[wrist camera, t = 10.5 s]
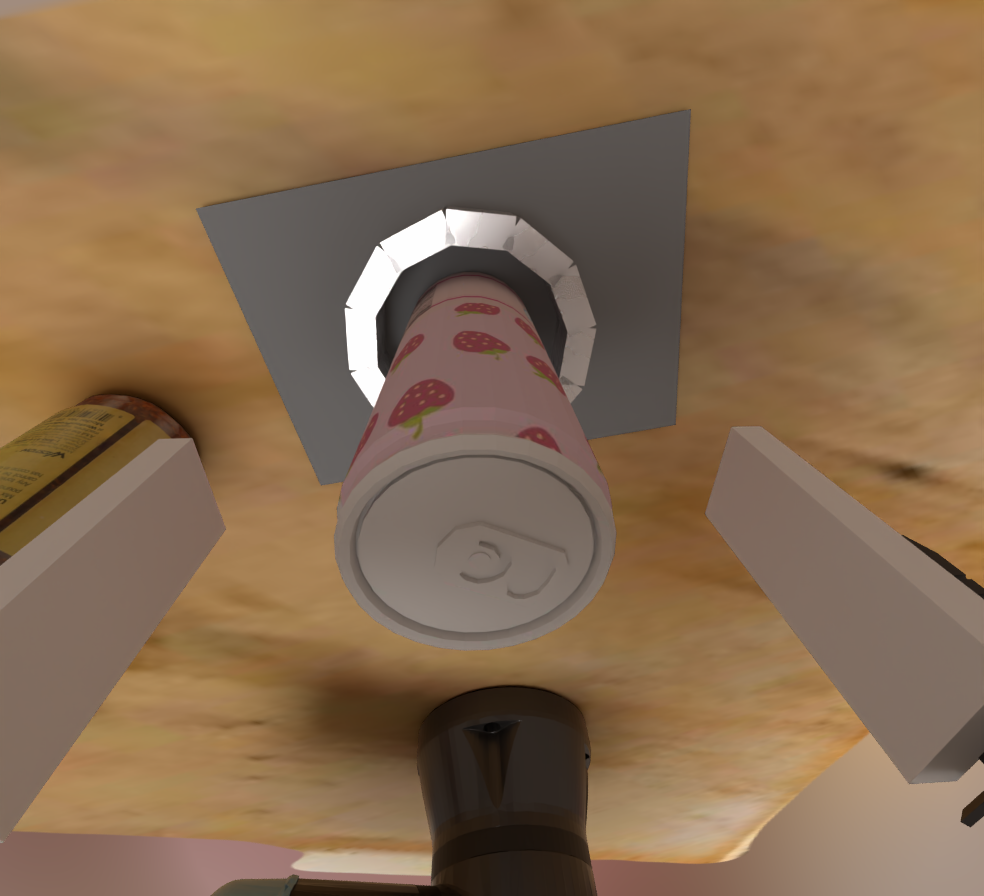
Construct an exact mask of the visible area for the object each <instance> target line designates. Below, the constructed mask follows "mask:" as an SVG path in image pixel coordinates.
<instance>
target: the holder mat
mask: <svg viewBox="0 0 984 896" xmlns="http://www.w3.org/2000/svg"><path fill="white" fill-rule="evenodd" d="M690 116H691V109H689V110H684V111H679V112H674V113H669V114H664V115H659V116H654V117H649V118H644V119H639V120H634V121H629V122H624V123H620V124H615V125H610V126H605V127H600V128H595V129H590V130H585V131H580V132H575V133H570V134H565V135H560V136H555V137H550V138H545V139H540V140H535V141H530V142H525V143H520V144H515V145H510V146H505V147H500V148H495V149H490V150H485V151H480V152H475V153H470V154H465V155H460V156H456V157H451V158H446V159H441V160H436V161H431V162H426V163H421V164H416V165H411V166H406V167H401V168H396V169H391V170H386V171H381V172H376V173H371V174H366V175H361V176H356V177H351V178H346V179H341V180H336V181H331V182H326V183H321V184H316V185H311V186H306V187H301V188H296V189H292V190H287V191H282V192H277V193H272V194H267V195H262V196H257V197H252V198H247V199H242V200H237V201H232V202H227V203H222V204H217V205H212V206H207V207H202V208H197V209H196V210H197V212H198V215H199V217H200V219H201V221H202V224H203V226H204V228H205V230H206V232H207V235H208V237H209V239H210V241H211V243H212V246H213V248H214V250H215V252H216V254H217V257H218V259H219V261H220V263H221V266H222V268H223V270H224V272H225V274H226V277H227V279H228V281H229V283H230V285H231V288H232V290H233V292H234V294H235V296H236V299H237V301H238V303H239V305H240V308H241V310H242V312H243V314H244V316H245V319H246V321H247V323H248V325H249V327H250V330H251V332H252V334H253V336H254V338H255V341H256V343H257V345H258V347H259V350H260V352H261V354H262V356H263V358H264V361H265V363H266V365H267V367H268V369H269V372H270V374H271V376H272V378H273V380H274V383H275V385H276V387H277V389H278V392H279V394H280V396H281V398H282V400H283V403H284V405H285V407H286V409H287V411H288V414H289V416H290V418H291V420H292V422H293V425H294V427H295V429H296V431H297V434H298V436H299V438H300V440H301V442H302V445H303V447H304V449H305V451H306V453H307V456H308V458H309V460H310V462H311V464H312V467H313V469H314V471H315V473H316V476H317V478H318V480H319V482H320V484H321V485H327V484H333V483H338V482H344V480H345V478H346V475H347V473H348V470H349V468H350V465H351V463H352V460H353V458H354V455H355V453H356V450H357V448H358V445H359V443H360V441H361V438H362V436H363V433H364V431H365V428H366V426H367V423H368V421H369V418H370V416H371V413H372V411H373V406H372V405H371V403H370V402H369V400H368V399H367V397H366V396H365V394H364V393H363V391H362V390H361V388H360V387H359V385H358V384H357V382H356V381H355V379H354V378H353V376H352V375H351V372H352V371H353V370H349V358H348V344H347V331H346V317H345V308H346V307H347V306H348V305H346V303H347V301H348V299H349V297H350V295H351V293H352V292H353V290H354V288H355V286H356V284H357V282H358V280H359V278H360V277H361V275H362V273H363V271H364V269H365V267H366V265H367V263H368V262H369V260H370V258H371V256H372V254H373V252H374V250H375V248H376V247H377V246H378V245H379V244H380V242H382V241H383V240H385V239H386V238H388V237H389V236H391V235H393V234H395V233H397V232H398V231H400V230H402V229H404V228H406V227H408V226H410V225H412V224H413V223H415V222H417V221H419V220H421V219H423V218H425V217H426V216H428V215H430V214H432V213H434V212H436V211H438V210H440V209H441V208H443V207H444V208H445V210H446V209H447V207H448V206H452V207H462V208H471V209H481V210H490V211H500V212H510V213H512V214H515V215H517V216H518V217H520V218H521V219H523V220H524V221H525V222H526V223H527V224H529V225H530V226H531V227H532V228H534V229H535V230H536V231H537V232H539V233H540V234H541V235H542V236H543V237H545V238H546V239H547V240H548V241H550V242H551V243H552V244H553V245H554V246H556V247H557V248H558V249H559V250H561V251H562V252H563V253H564V254H565V255H567V256H568V257H569V258H570V259H572V260H573V263H574V264H576V266H577V269H578V272H579V275H580V278H581V281H582V284H583V287H584V290H585V293H586V296H587V299H588V302H589V305H590V308H591V311H592V314H593V317H594V319H595V322H596V325H594V327H595V328H596V333H595V338H594V343H593V347H592V352H591V357H590V362H589V366H588V371H587V376H586V380H585V385H584V386H581V388H582V391H581V392H580V393H579V394H578V395H577V396H576V398H575V399H574V400H573V401H572V402H571V406H572V408H573V410H574V413H575V415H576V417H577V419H578V421H579V423H580V425H581V428H582V430H583V432H584V434H585V436H586V438H587V440H590V439H595V438H601V437H607V436H613V435H619V434H625V433H630V432H636V431H642V430H648V429H654V428H660V427H665V426H671V425H676V405H677V385H678V364H679V343H680V323H681V302H682V281H683V261H684V240H685V219H686V199H687V178H688V157H689V137H690ZM462 272H479V273H483V274H487V275H491V276H493V277H495V278H497V279H499V280H501V281H503V282H504V283H506V284H507V285H508V286H509V287H511V288H512V289H513V290H514V291H515V292H516V293H517V295H518V296H519V297H520V298H521V300H522V301H523V303H524V305H525V307H526V309H527V312H528V314H529V316H530V318H531V320H532V322H533V324H534V327H535V329H536V331H537V333H538V335H539V337H540V339H541V342H542V344H543V346H544V348H545V350H546V352H547V355H548V357H549V359H550V358H551V352H552V346H553V340H554V334H555V328H556V322H557V315H556V312H555V309H554V307H553V304H552V301H551V299H550V296H549V294H548V291H547V288H546V286H545V283H544V280H543V278H541V277H540V276H539V275H538V274H536V273H535V272H534V271H532V270H531V269H530V268H529V267H527V266H526V265H525V264H523V263H522V262H521V261H520V260H518V259H517V258H516V257H514V256H513V255H512V254H511V253H509V252H508V251H506V250H495V249H485V248H474V247H464V246H454V245H450V246H449V247H447V248H445V249H443V250H441V251H439V252H437V253H435V254H433V255H431V256H429V257H427V258H425V259H423V260H421V261H419V262H418V263H416V264H414V265H412V266H410V267H408V268H406V269H404V270H403V272H402V274H401V276H400V277H399V279H398V281H397V283H396V284H395V286H394V288H393V290H392V291H391V293H390V295H389V297H388V298H387V300H386V302H385V318H386V349H387V350H388V352H389V354H390V355H391V357H392V359H394V357H395V354H396V352H397V349H398V347H399V344H400V342H401V339H402V337H403V334H404V332H405V329H406V327H407V324H408V322H409V320H410V317H411V315H412V312H413V310H414V308H415V306H416V304H417V302H418V300H419V298H420V297H421V296H422V295H423V294H424V292H425V291H426V290H427V289H428V288H429V287H430V286H432V285H433V284H434V283H436V282H437V281H438V280H440V279H442V278H445V277H447V276H449V275H452V274H457V273H462Z"/></svg>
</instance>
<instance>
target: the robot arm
mask: <svg viewBox="0 0 984 896" xmlns="http://www.w3.org/2000/svg"><path fill="white" fill-rule="evenodd" d="M705 515H706V516H707V518H708V519H709V520H710V522H711V523H712V524H713V526H714V527H715V528H716V529H717V531H718V532H719V533H720V535H721V536H722V537H723V539H724V540H725V541H726V543H727V544H728V545H729V547H730V548H731V549H732V551H733V552H734V553H735V555H736V556H737V557H738V559H739V560H740V561H741V563H742V564H743V565H744V566H745V568H746V569H747V570H748V572H749V573H750V574H751V576H752V577H753V578H754V580H755V581H756V582H757V584H758V585H759V586H760V588H761V589H762V590H763V592H764V593H765V594H766V596H767V597H768V598H769V599H770V601H771V602H772V603H773V605H774V606H775V607H776V609H777V610H778V611H779V613H780V614H781V615H782V617H783V618H784V619H785V621H786V622H787V623H788V625H789V626H790V627H791V629H792V630H793V631H794V633H795V634H796V635H797V636H798V638H799V639H800V640H801V642H802V643H803V644H804V646H805V647H806V648H807V650H808V651H809V652H810V654H811V655H812V656H813V658H814V659H815V660H816V662H817V663H818V664H819V666H820V667H821V668H822V670H823V671H824V672H825V673H826V675H827V676H828V677H829V679H830V680H831V681H832V683H833V684H834V685H835V687H836V688H837V689H838V691H839V692H840V693H841V695H842V696H843V697H844V699H845V700H846V701H847V703H848V704H849V705H850V706H851V708H852V709H853V710H854V712H855V713H856V714H857V716H858V717H859V718H860V720H861V721H862V722H863V724H864V725H865V726H866V728H867V729H868V730H869V732H870V733H871V734H872V736H873V737H874V738H875V739H876V741H877V742H878V743H879V745H880V746H881V747H882V749H883V750H884V751H885V753H886V754H887V755H888V757H889V758H890V759H891V761H892V762H893V763H894V765H895V766H896V767H897V768H898V770H899V771H900V772H901V774H902V775H903V776H904V778H905V779H906V780H907V782H908V783H909V784H919V783H934V782H950V781H957V780H958V779H959V778H960V777H961V776H962V775H963V774H964V773H965V772H966V771H967V770H968V769H970V768H971V767H972V766H973V765H974V764H975V763H976V762H977V761H978V760H979V759H980V760H981V761H982V762H983V764H984V588H983V587H981V586H980V585H979V584H977V583H976V582H975V581H973V580H972V579H967V578H966V575H965V574H964V573H963V572H961V571H960V570H959V569H957V568H956V567H955V566H954V565H952V564H951V563H950V562H948V561H947V560H946V559H944V558H943V557H942V556H940V555H939V554H938V553H936V552H934V551H932V550H930V549H928V548H927V547H925V546H923V545H921V544H919V543H917V542H915V541H913V540H911V539H909V538H907V537H906V536H904V535H900V534H899V533H898V532H896V531H895V530H894V529H892V528H891V527H890V526H889V525H887V524H886V523H885V522H883V521H882V520H881V519H880V518H878V517H877V516H876V515H874V514H873V513H872V512H871V511H869V510H868V509H867V508H865V507H864V506H863V505H862V504H860V503H859V502H858V501H856V500H855V499H854V498H853V497H851V496H850V495H849V494H847V493H846V492H845V491H844V490H842V489H841V488H840V487H838V486H837V485H836V484H835V483H833V482H832V481H831V480H829V479H828V478H827V477H825V476H824V475H823V474H822V473H820V472H819V471H818V470H816V469H815V468H814V467H813V466H811V465H810V464H809V463H807V462H806V461H805V460H804V459H802V458H801V457H800V456H798V455H797V454H796V453H795V452H793V451H792V450H791V449H789V448H788V447H787V446H786V445H784V444H783V443H782V442H780V441H779V440H778V439H777V438H775V437H774V436H773V435H771V434H770V433H769V432H768V431H766V430H765V429H764V428H762V427H761V426H744V427H731V429H730V432H729V436H728V439H727V442H726V446H725V449H724V452H723V456H722V459H721V462H720V466H719V469H718V472H717V476H716V479H715V482H714V485H713V489H712V492H711V495H710V499H709V502H708V505H707V509H706V512H705ZM225 530H226V528H225V525H224V522H223V519H222V517H221V514H220V511H219V509H218V506H217V503H216V501H215V498H214V495H213V492H212V490H211V487H210V484H209V482H208V479H207V476H206V474H205V471H204V468H203V465H202V463H201V460H200V457H199V455H198V452H197V449H196V447H195V444H194V441H193V438H177V439H158V440H157V441H156V442H154V443H153V444H152V445H151V446H149V447H148V448H147V449H146V450H144V451H143V452H142V453H141V454H139V455H138V456H137V457H136V458H134V459H133V460H132V461H131V462H129V463H128V464H127V465H126V466H124V467H123V468H122V469H121V470H119V471H118V472H117V473H116V474H114V475H113V476H112V477H111V478H109V479H108V480H107V481H106V482H104V483H103V484H102V485H101V486H99V487H98V488H97V489H96V490H94V491H93V492H92V493H91V494H89V495H88V496H87V497H86V498H84V499H83V500H82V501H81V502H79V503H78V504H77V505H76V506H74V507H73V508H72V509H71V510H69V511H68V512H67V513H66V514H64V515H63V516H62V517H61V518H59V519H58V520H57V521H56V522H54V523H53V524H52V525H51V526H49V527H48V528H47V529H46V530H44V531H43V532H42V533H41V534H39V535H38V536H37V537H36V538H34V539H33V540H32V541H31V542H29V543H28V544H27V545H26V546H24V547H23V548H22V549H21V550H19V551H18V552H17V553H16V554H14V555H13V556H12V557H11V558H9V559H8V560H7V561H6V562H4V563H3V564H2V565H1V566H0V843H3V842H4V841H5V839H6V838H7V837H8V835H9V834H10V833H11V831H12V830H13V828H14V827H15V826H16V824H17V823H18V821H19V820H20V818H21V817H22V816H23V814H24V813H25V811H26V810H27V809H28V807H29V806H30V804H31V803H32V802H33V800H34V799H35V797H36V796H37V795H38V793H39V792H40V790H41V789H42V788H43V786H44V785H45V783H46V782H47V780H48V779H49V778H50V776H51V775H52V773H53V772H54V771H55V769H56V768H57V766H58V765H59V764H60V762H61V761H62V759H63V758H64V757H65V755H66V754H67V752H68V751H69V750H70V748H71V747H72V745H73V744H74V742H75V741H76V740H77V738H78V737H79V735H80V734H81V733H82V731H83V730H84V728H85V727H86V726H87V724H88V723H89V721H90V720H91V719H92V717H93V716H94V714H95V713H96V712H97V710H98V709H99V707H100V706H101V704H102V703H103V702H104V700H105V699H106V697H107V696H108V695H109V693H110V692H111V690H112V689H113V688H114V686H115V685H116V683H117V682H118V681H119V679H120V678H121V676H122V675H123V674H124V672H125V671H126V669H127V668H128V666H129V665H130V664H131V662H132V661H133V659H134V658H135V657H136V655H137V654H138V652H139V651H140V650H141V648H142V647H143V645H144V644H145V643H146V641H147V640H148V638H149V637H150V636H151V634H152V633H153V631H154V630H155V628H156V627H157V626H158V624H159V623H160V621H161V620H162V619H163V617H164V616H165V614H166V613H167V612H168V610H169V609H170V607H171V606H172V605H173V603H174V602H175V600H176V599H177V598H178V596H179V595H180V593H181V592H182V590H183V589H184V588H185V586H186V585H187V583H188V582H189V581H190V579H191V578H192V576H193V575H194V574H195V572H196V571H197V569H198V568H199V567H200V565H201V564H202V562H203V561H204V560H205V558H206V557H207V555H208V554H209V552H210V551H211V550H212V548H213V547H214V545H215V544H216V543H217V541H218V540H219V538H220V537H221V536H222V534H223V533H224V531H225ZM590 758H591V749H590V742H589V738H588V733H587V728H586V724H585V720H584V717H583V715H582V714H581V712H580V711H579V710H578V709H577V708H576V707H575V706H574V705H573V704H572V703H570V702H569V701H567V700H566V699H564V698H562V697H560V696H557V695H555V694H552V693H549V692H545V691H541V690H536V689H529V688H516V687H506V688H493V689H486V690H481V691H476V692H472V693H468V694H465V695H462V696H459V697H457V698H454V699H452V700H450V701H448V702H446V703H444V704H443V705H441V706H440V707H438V708H437V709H435V710H434V711H433V712H432V713H431V714H430V715H429V716H428V717H427V718H426V719H425V720H424V722H423V724H422V725H421V728H420V731H419V738H418V749H417V769H418V774H419V776H420V782H421V788H422V794H423V799H424V804H425V809H426V814H427V819H428V824H429V829H430V834H431V839H432V847H433V855H432V874H431V886H424V885H423V886H422V885H413V884H393V883H374V882H356V881H337V880H319V879H299V876H297V875H291V876H289V877H288V878H287V879H240V880H234V881H231V882H229V883H227V884H225V885H224V886H222V887H220V888H219V889H218V890H216V891H215V892H214V893H213V894H212V895H211V896H597V891H596V886H595V881H594V876H593V871H592V866H591V860H590V855H589V849H588V843H587V837H586V819H587V802H588V768H589V765H590ZM983 816H984V791H983V792H982V793H981V794H980V795H978V796H977V797H976V798H975V799H974V800H973V801H972V802H971V803H970V804H968V805H967V806H966V807H965V808H964V809H963V811H962V817H961V822H962V823H964V824H966V825H967V826H969V827H971V826H973V825H974V824H975V823H976V822H977V821H978V820H980V819H981V818H982V817H983Z"/></svg>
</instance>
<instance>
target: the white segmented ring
mask: <svg viewBox="0 0 984 896" xmlns="http://www.w3.org/2000/svg"><path fill="white" fill-rule="evenodd" d="M450 245H454V246H464V247H474V248H485V249H495V250H506V251H508V252H509V253H511V254H512V255H513V256H514V257H516V258H517V259H518V260H520V261H521V262H522V263H523V264H525V265H526V266H527V267H529V268H530V269H531V270H532V271H534V272H535V273H536V274H538V275H539V276H540V277H541V278H543V280H544V283H545V286H546V288H547V291H548V294H549V296H550V299H551V301H552V304H553V307H554V309H555V312H556V315H557V322H556V328H555V334H554V340H553V346H552V352H551V358H550V361H551V363H552V365H553V367H554V370H555V372H556V374H557V376H558V378H559V380H560V382H561V385H562V387H563V389H564V391H565V393H566V395H567V398H568V400H569V402H570V404H571V402H572V401H573V400H574V399H575V398H576V396H577V395H578V394H579V393H580V392H581V391H582V388H581V386H584V385H585V380H586V376H587V371H588V366H589V362H590V357H591V352H592V347H593V343H594V338H595V333H596V328H595V327H594V325H596V322H595V319H594V317H593V314H592V311H591V308H590V305H589V302H588V299H587V296H586V293H585V290H584V287H583V284H582V281H581V278H580V275H579V272H578V269H577V266H576V264H574V263H573V260H572V259H570V258H569V257H568V256H567V255H565V254H564V253H563V252H562V251H561V250H559V249H558V248H557V247H556V246H554V245H553V244H552V243H551V242H550V241H548V240H547V239H546V238H545V237H543V236H542V235H541V234H540V233H539V232H537V231H536V230H535V229H534V228H532V227H531V226H530V225H529V224H527V223H526V222H525V221H524V220H523V219H521V218H520V217H518V216H517V215H515V214H512V213H510V212H500V211H490V210H481V209H471V208H462V207H452V206H448V207H447V209H446V210H445V208H444V207H443V208H441V209H440V210H438V211H436V212H434V213H432V214H430V215H428V216H426V217H425V218H423V219H421V220H419V221H417V222H415V223H413V224H412V225H410V226H408V227H406V228H404V229H402V230H400V231H398V232H397V233H395V234H393V235H391V236H389V237H388V238H386V239H385V240H383V241H382V242H380V244H379V245H378V246H377V247H376V248H375V250H374V252H373V254H372V256H371V258H370V260H369V262H368V263H367V265H366V267H365V269H364V271H363V273H362V275H361V277H360V278H359V280H358V282H357V284H356V286H355V288H354V290H353V292H352V293H351V295H350V297H349V299H348V301H347V303H346V305H348V306H347V307H346V308H345V317H346V331H347V344H348V358H349V370H353V371H352V372H351V375H352V376H353V378H354V379H355V381H356V382H357V384H358V385H359V387H360V388H361V390H362V391H363V393H364V394H365V396H366V397H367V399H368V400H369V402H370V403H371V405H372V406H373V408H374V406H375V403H376V401H377V399H378V396H379V394H380V391H381V389H382V386H383V384H384V381H385V379H386V376H387V374H388V371H389V369H390V366H391V364H392V362H393V359H392V357H391V355H390V354H389V352H388V350H387V349H386V318H385V302H386V300H387V298H388V297H389V295H390V293H391V291H392V290H393V288H394V286H395V284H396V283H397V281H398V279H399V277H400V276H401V274H402V272H403V270H404V269H406V268H408V267H410V266H412V265H414V264H416V263H418V262H419V261H421V260H423V259H425V258H427V257H429V256H431V255H433V254H435V253H437V252H439V251H441V250H443V249H445V248H447V247H449V246H450Z"/></svg>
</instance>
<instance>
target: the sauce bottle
mask: <svg viewBox="0 0 984 896" xmlns="http://www.w3.org/2000/svg"><path fill="white" fill-rule="evenodd" d="M177 438H190V435H189V434H188V433H186V432H185V430H184V429H183V428H182V427H181V426H180V424H179V423H177V422H176V421H175V420H174V419H173V418H171V417H170V416H169V415H168V414H167V413H166V412H164V411H163V410H162V409H160V408H159V407H157V406H156V405H154V404H152V403H150V402H147V401H145V400H143V399H139V398H137V397H130V396H121V395H117V394H115V395H114V394H108V395H97V396H92V397H90V398H88V399H85V400H84V401H83V402H81V403H79V404H77V405H76V406H74V407H70V408H67V409H64V410H62V411H60V412H58V413H56V414H55V415H53V416H51V417H50V418H48V419H47V420H45V421H43V422H42V423H40V424H39V425H37V426H35V427H34V428H32V429H30V430H29V431H27V432H26V433H24V434H22V435H21V436H19V437H18V438H16V439H14V440H13V441H11V442H10V443H8V444H6V445H5V446H3V447H2V448H0V566H1V565H2V564H3V563H4V562H6V561H7V560H8V559H9V558H11V557H12V556H13V555H14V554H16V553H17V552H18V551H19V550H21V549H22V548H23V547H24V546H26V545H27V544H28V543H29V542H31V541H32V540H33V539H34V538H36V537H37V536H38V535H39V534H41V533H42V532H43V531H44V530H46V529H47V528H48V527H49V526H51V525H52V524H53V523H54V522H56V521H57V520H58V519H59V518H61V517H62V516H63V515H64V514H66V513H67V512H68V511H69V510H71V509H72V508H73V507H74V506H76V505H77V504H78V503H79V502H81V501H82V500H83V499H84V498H86V497H87V496H88V495H89V494H91V493H92V492H93V491H94V490H96V489H97V488H98V487H99V486H101V485H102V484H103V483H104V482H106V481H107V480H108V479H109V478H111V477H112V476H113V475H114V474H116V473H117V472H118V471H119V470H121V469H122V468H123V467H124V466H126V465H127V464H128V463H129V462H131V461H132V460H133V459H134V458H136V457H137V456H138V455H139V454H141V453H142V452H143V451H144V450H146V449H147V448H148V447H149V446H151V445H152V444H153V443H154V442H156V441H157V440H158V439H177Z"/></svg>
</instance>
